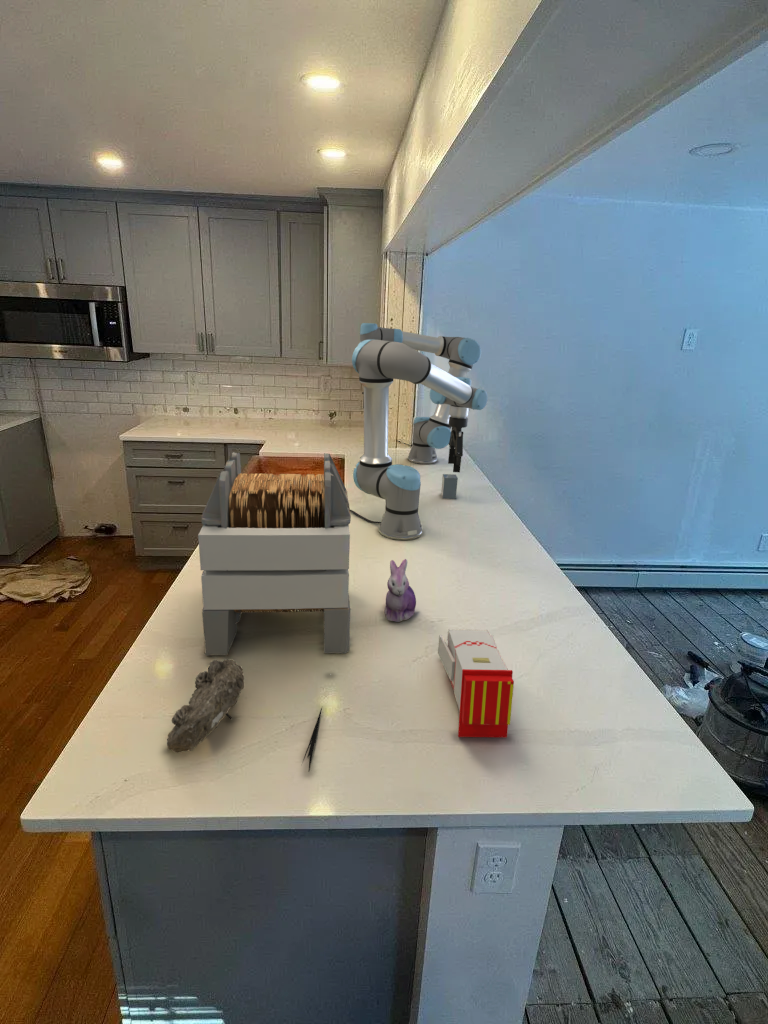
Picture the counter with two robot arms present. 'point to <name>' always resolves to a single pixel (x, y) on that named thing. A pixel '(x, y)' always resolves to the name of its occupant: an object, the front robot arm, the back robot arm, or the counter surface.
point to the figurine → (399, 594)
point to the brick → (449, 486)
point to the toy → (478, 682)
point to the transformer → (275, 551)
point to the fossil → (206, 705)
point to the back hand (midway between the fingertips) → (366, 406)
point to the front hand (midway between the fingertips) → (453, 467)
